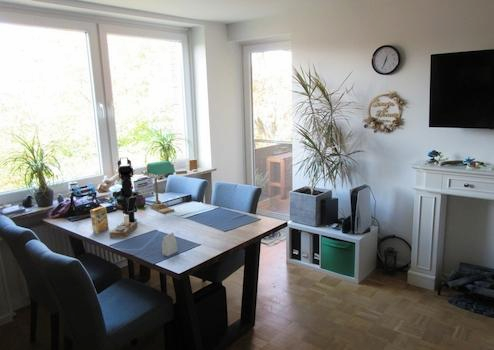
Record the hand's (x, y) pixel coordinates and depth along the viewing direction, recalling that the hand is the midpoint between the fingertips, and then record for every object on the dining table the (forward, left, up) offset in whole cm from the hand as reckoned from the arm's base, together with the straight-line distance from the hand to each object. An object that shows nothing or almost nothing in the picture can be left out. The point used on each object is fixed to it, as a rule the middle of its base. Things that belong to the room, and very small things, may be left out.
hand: (129, 210), depth 236 cm
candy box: (+3, -18, -13) cm, 22 cm away
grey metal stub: (+10, -2, -11) cm, 16 cm away
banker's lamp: (-43, +6, -13) cm, 45 cm away
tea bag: (+35, +35, -13) cm, 51 cm away
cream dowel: (+1, -2, -11) cm, 12 cm away
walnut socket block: (+6, -2, -12) cm, 14 cm away
